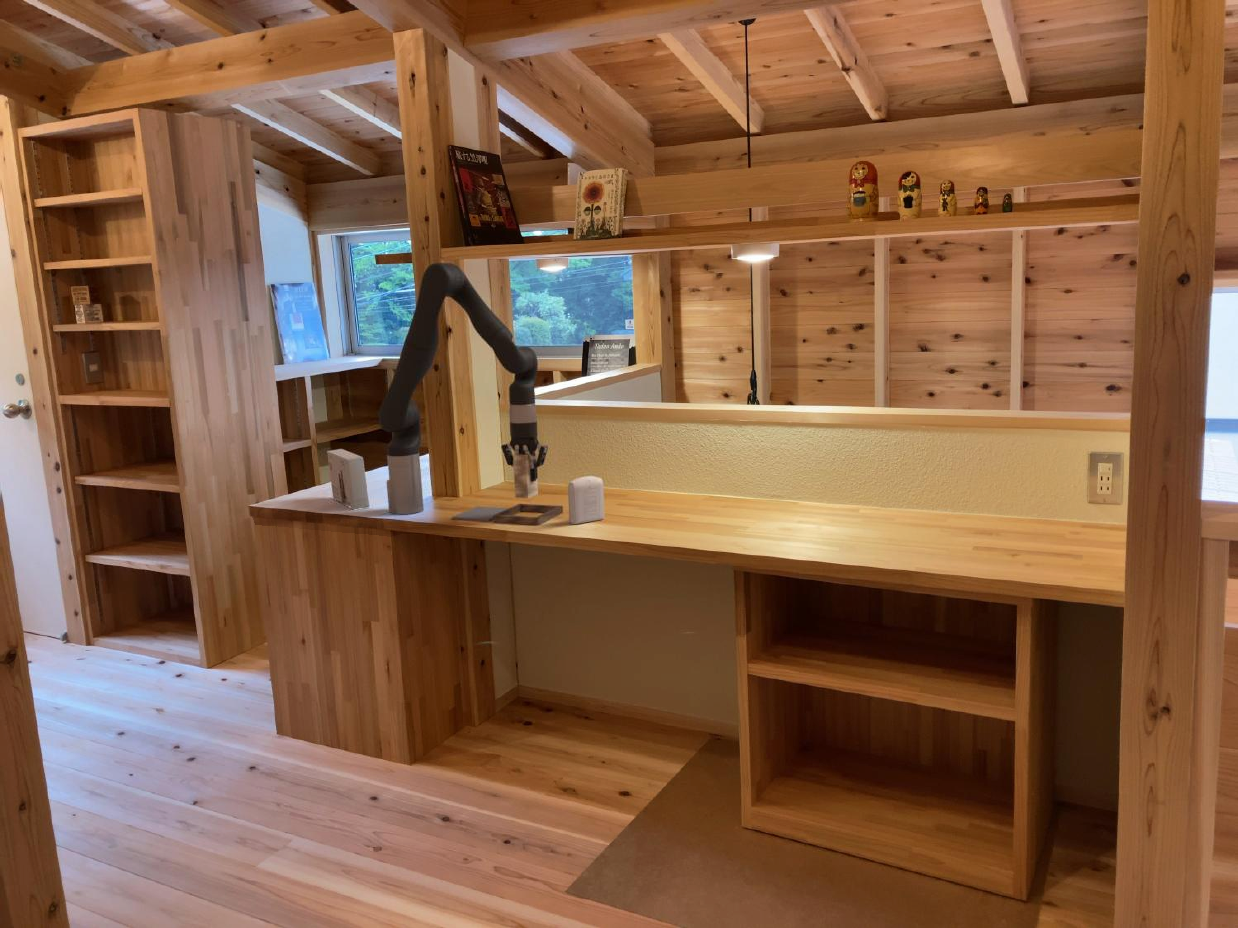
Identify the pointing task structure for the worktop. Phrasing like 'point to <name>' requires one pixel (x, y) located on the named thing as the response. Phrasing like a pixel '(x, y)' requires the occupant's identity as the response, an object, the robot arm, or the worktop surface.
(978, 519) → the worktop surface
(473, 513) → the grey mat
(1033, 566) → the worktop surface
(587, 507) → the photo printer
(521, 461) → the block
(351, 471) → the skincare box
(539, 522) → the frame
